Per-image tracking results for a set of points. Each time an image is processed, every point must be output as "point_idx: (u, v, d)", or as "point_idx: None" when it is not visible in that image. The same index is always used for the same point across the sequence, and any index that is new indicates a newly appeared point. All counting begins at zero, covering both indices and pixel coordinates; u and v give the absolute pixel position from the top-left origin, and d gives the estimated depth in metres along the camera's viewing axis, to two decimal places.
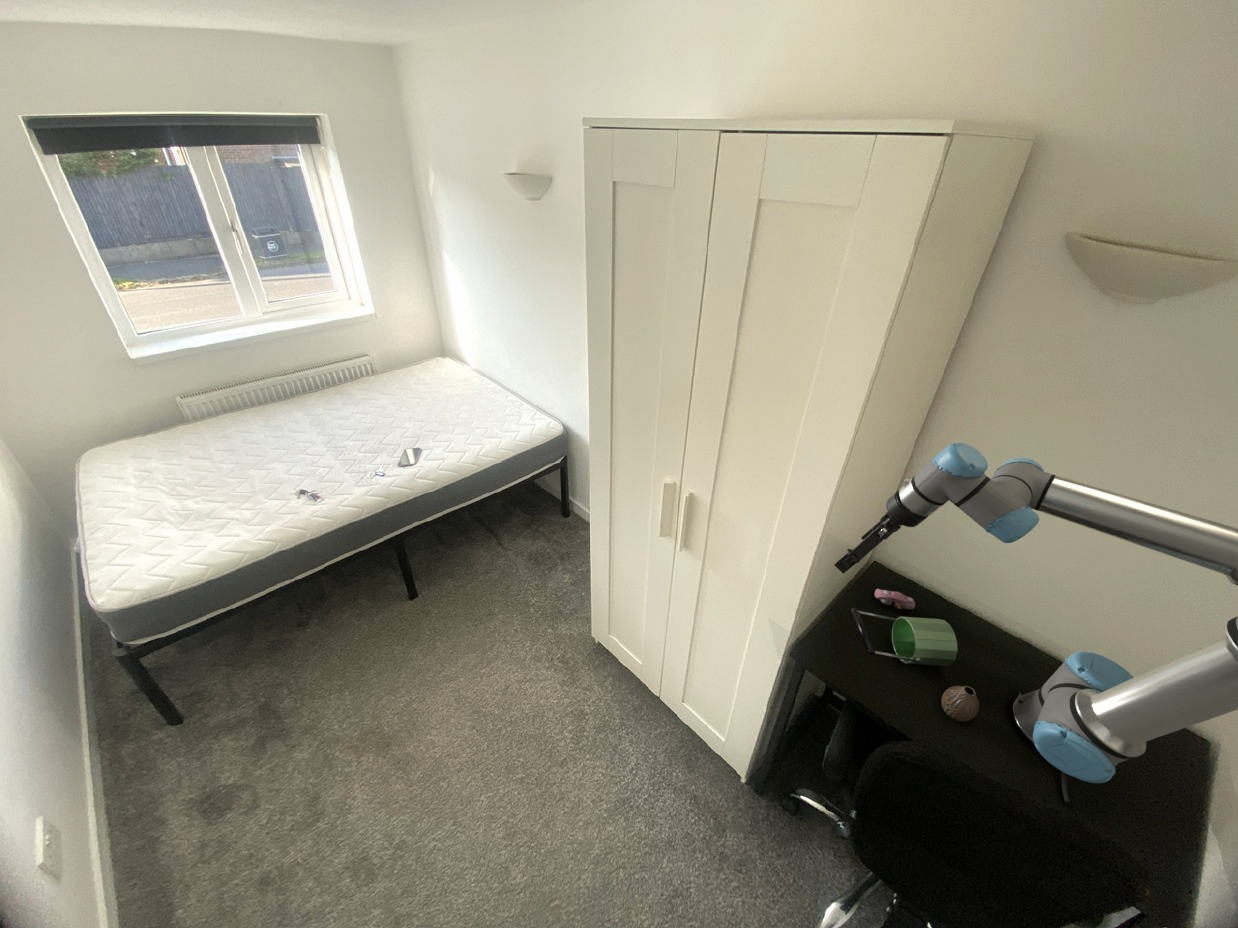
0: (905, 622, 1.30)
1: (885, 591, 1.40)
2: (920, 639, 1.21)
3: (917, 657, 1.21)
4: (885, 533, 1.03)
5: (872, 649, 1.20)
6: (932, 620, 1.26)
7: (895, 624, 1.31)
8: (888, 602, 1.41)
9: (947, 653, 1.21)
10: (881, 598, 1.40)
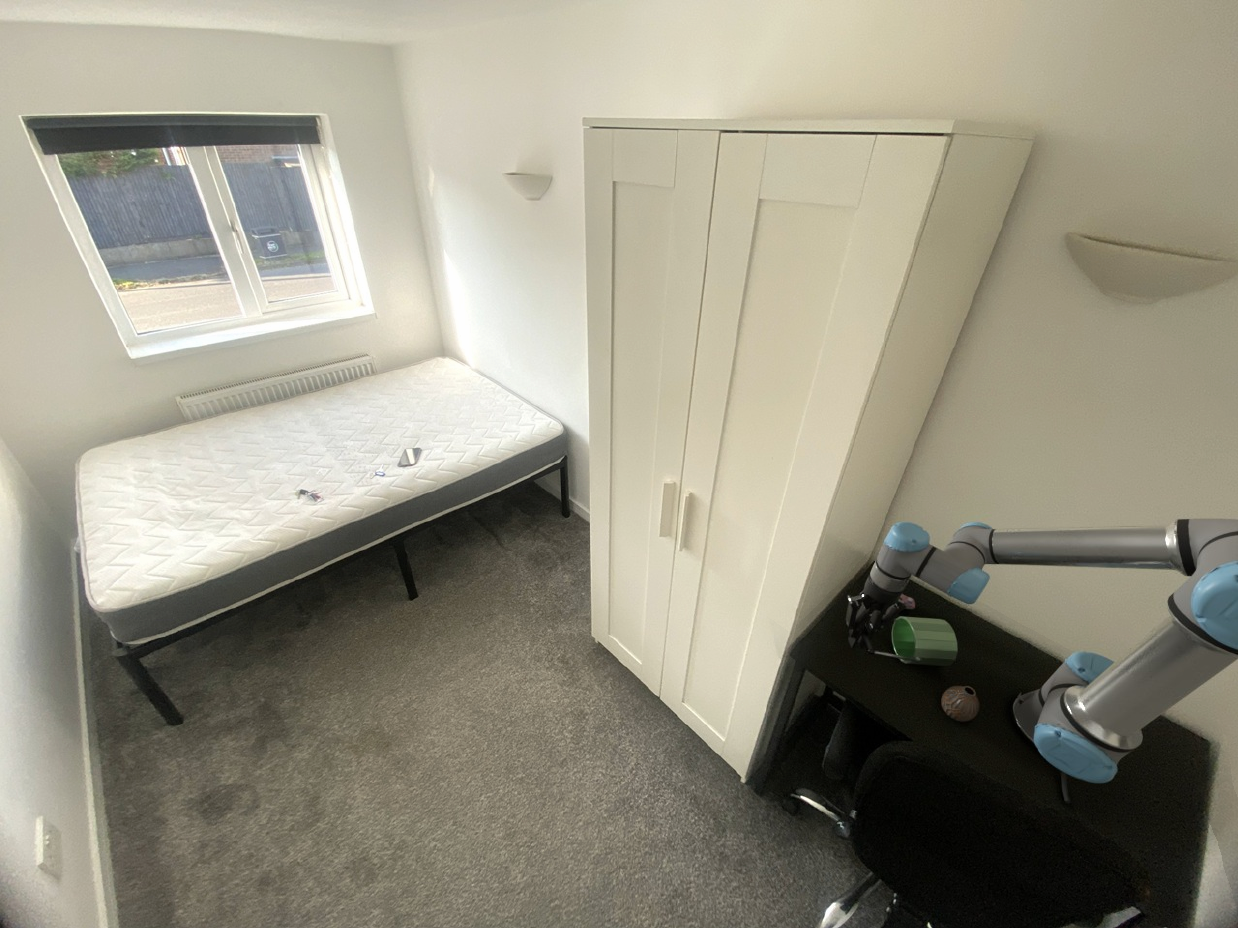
0: (905, 622, 1.30)
1: None
2: (920, 639, 1.21)
3: (917, 657, 1.21)
4: (849, 603, 1.19)
5: (872, 649, 1.20)
6: (932, 620, 1.26)
7: (895, 624, 1.31)
8: None
9: (947, 653, 1.21)
10: None
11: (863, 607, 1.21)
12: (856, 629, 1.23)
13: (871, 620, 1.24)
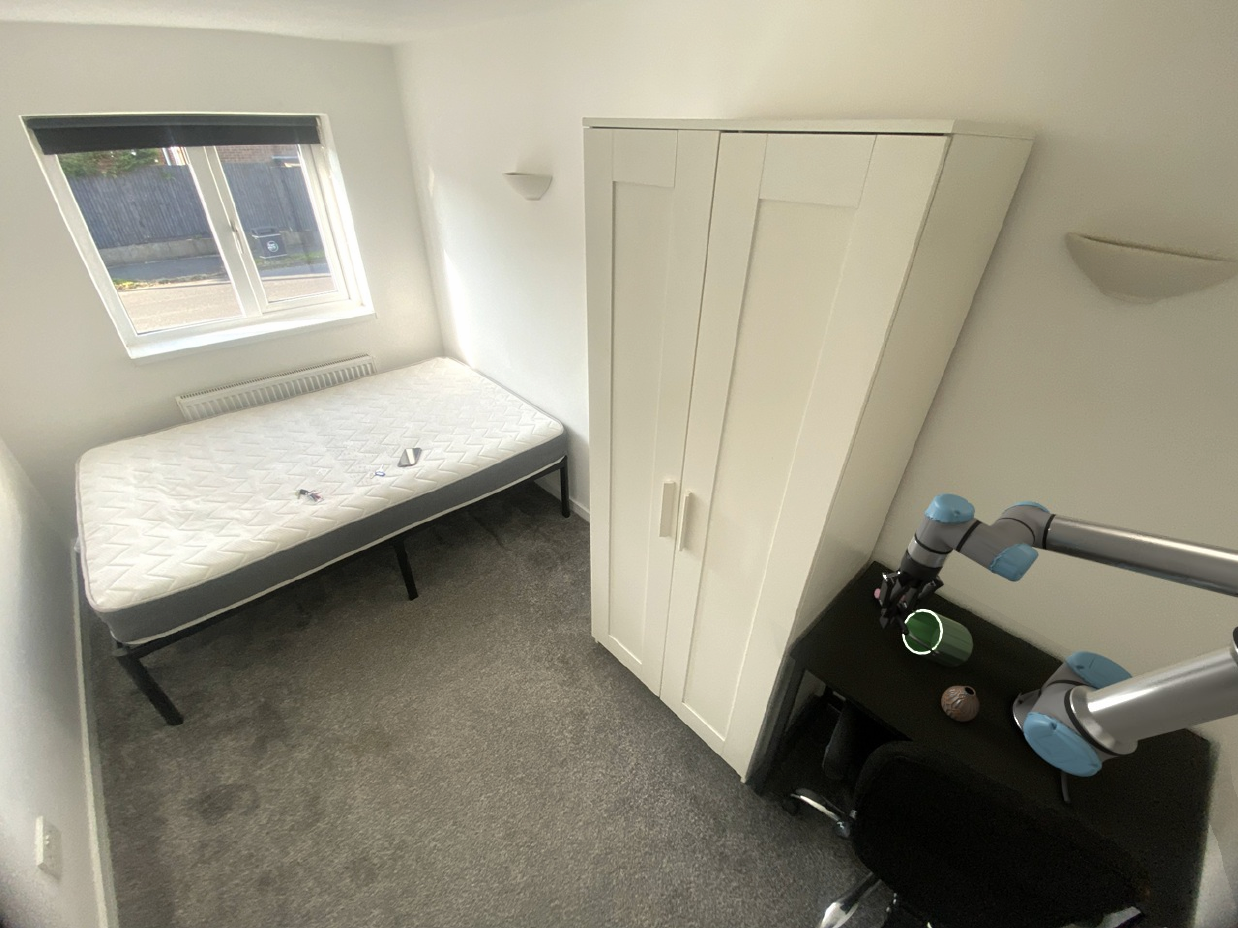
0: (921, 616, 1.29)
1: None
2: (945, 633, 1.19)
3: (937, 650, 1.19)
4: (885, 580, 1.14)
5: (908, 630, 1.15)
6: (951, 620, 1.25)
7: (912, 616, 1.29)
8: None
9: (962, 653, 1.21)
10: None
11: (898, 585, 1.16)
12: (890, 608, 1.18)
13: (905, 599, 1.19)
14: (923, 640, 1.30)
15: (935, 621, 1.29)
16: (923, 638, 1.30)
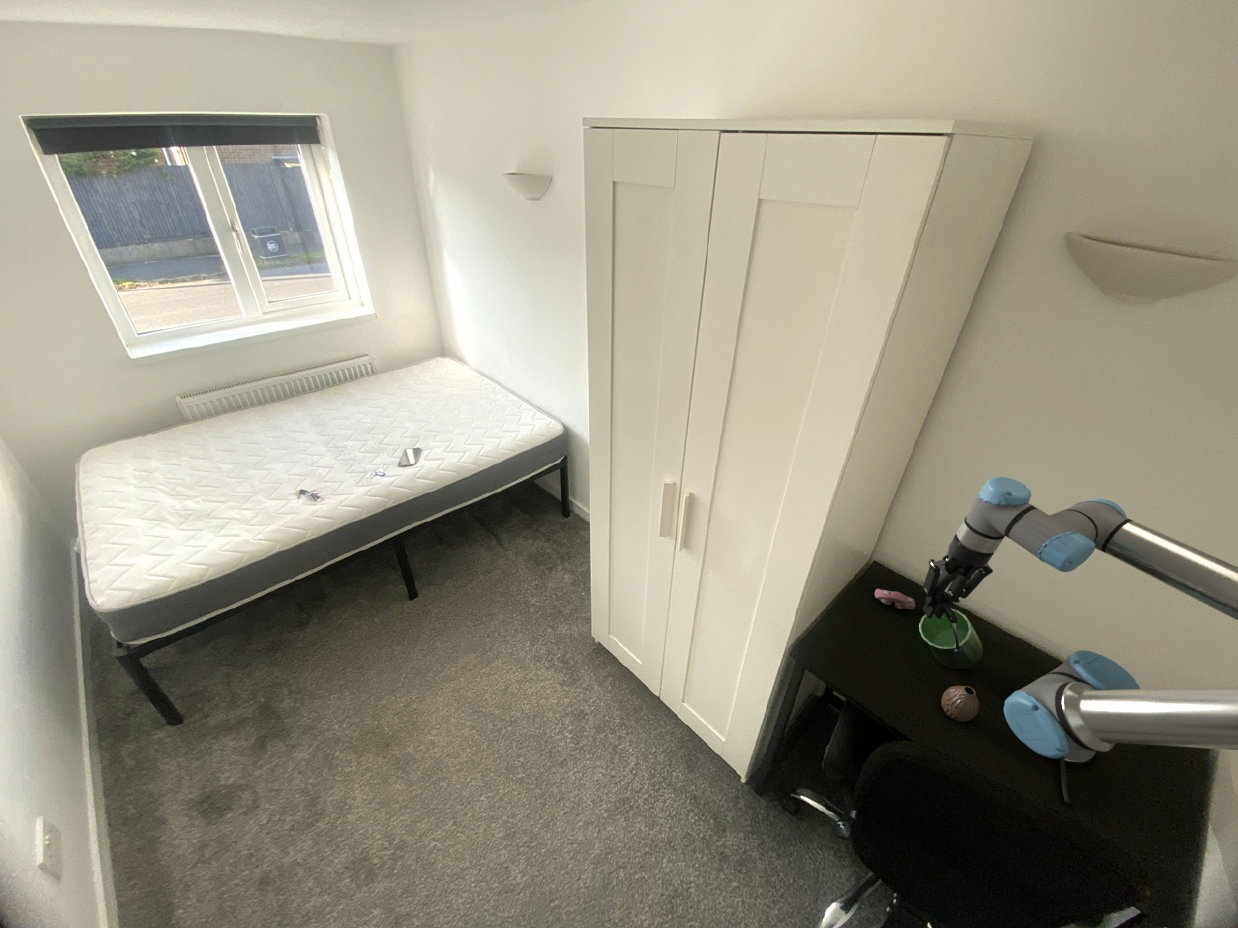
0: None
1: (885, 591, 1.40)
2: (972, 634, 1.19)
3: (960, 647, 1.18)
4: (932, 567, 1.11)
5: (956, 618, 1.12)
6: None
7: None
8: (888, 602, 1.41)
9: (974, 657, 1.21)
10: (881, 598, 1.40)
11: (945, 572, 1.13)
12: (935, 597, 1.15)
13: (951, 587, 1.16)
14: (930, 638, 1.30)
15: (947, 623, 1.30)
16: (930, 637, 1.30)
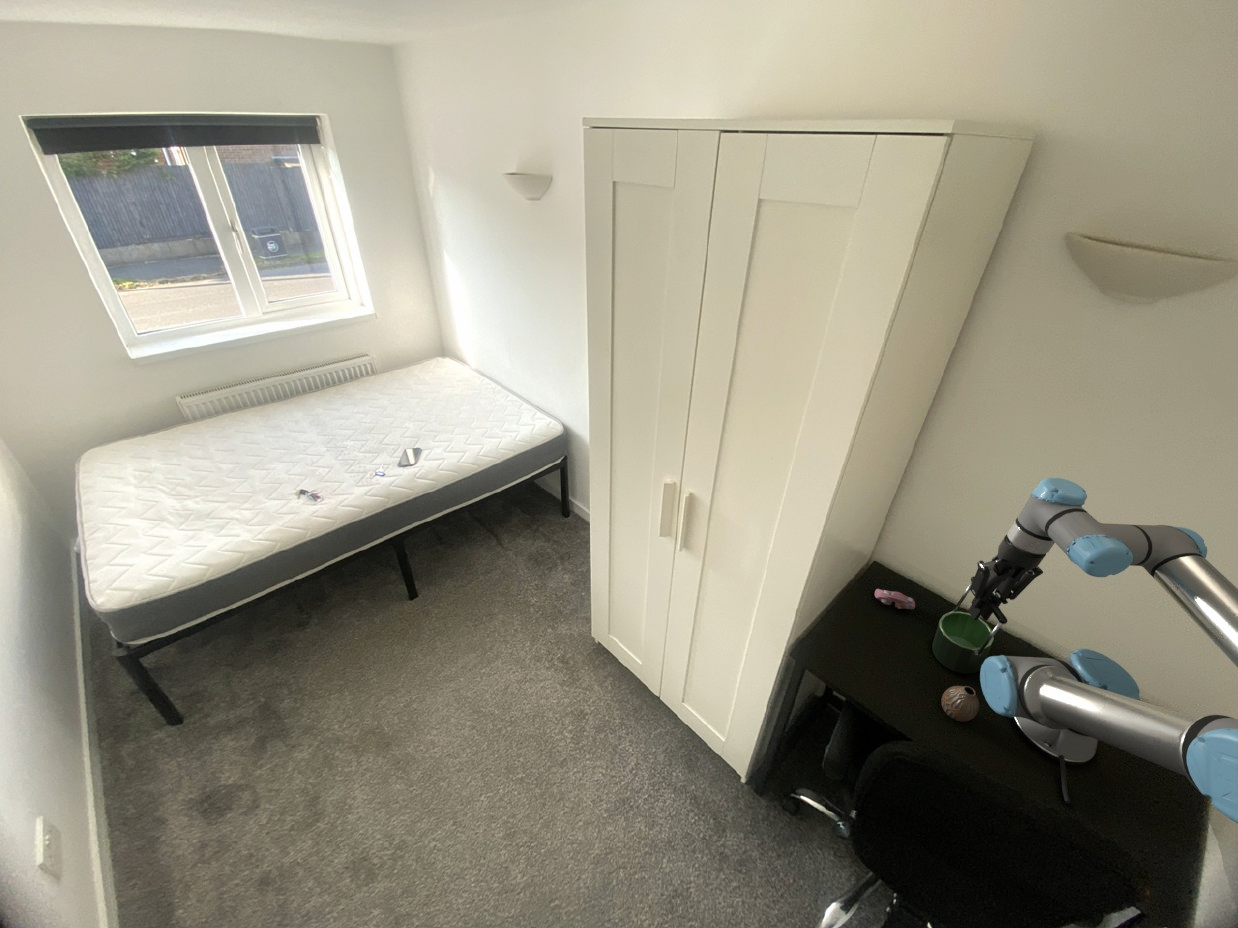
0: (955, 619, 1.28)
1: (885, 591, 1.40)
2: (992, 642, 1.21)
3: None
4: (981, 569, 1.10)
5: None
6: None
7: (953, 613, 1.27)
8: (888, 602, 1.41)
9: (980, 665, 1.23)
10: (881, 598, 1.40)
11: (993, 574, 1.12)
12: (983, 598, 1.15)
13: (999, 588, 1.15)
14: None
15: (954, 629, 1.31)
16: None
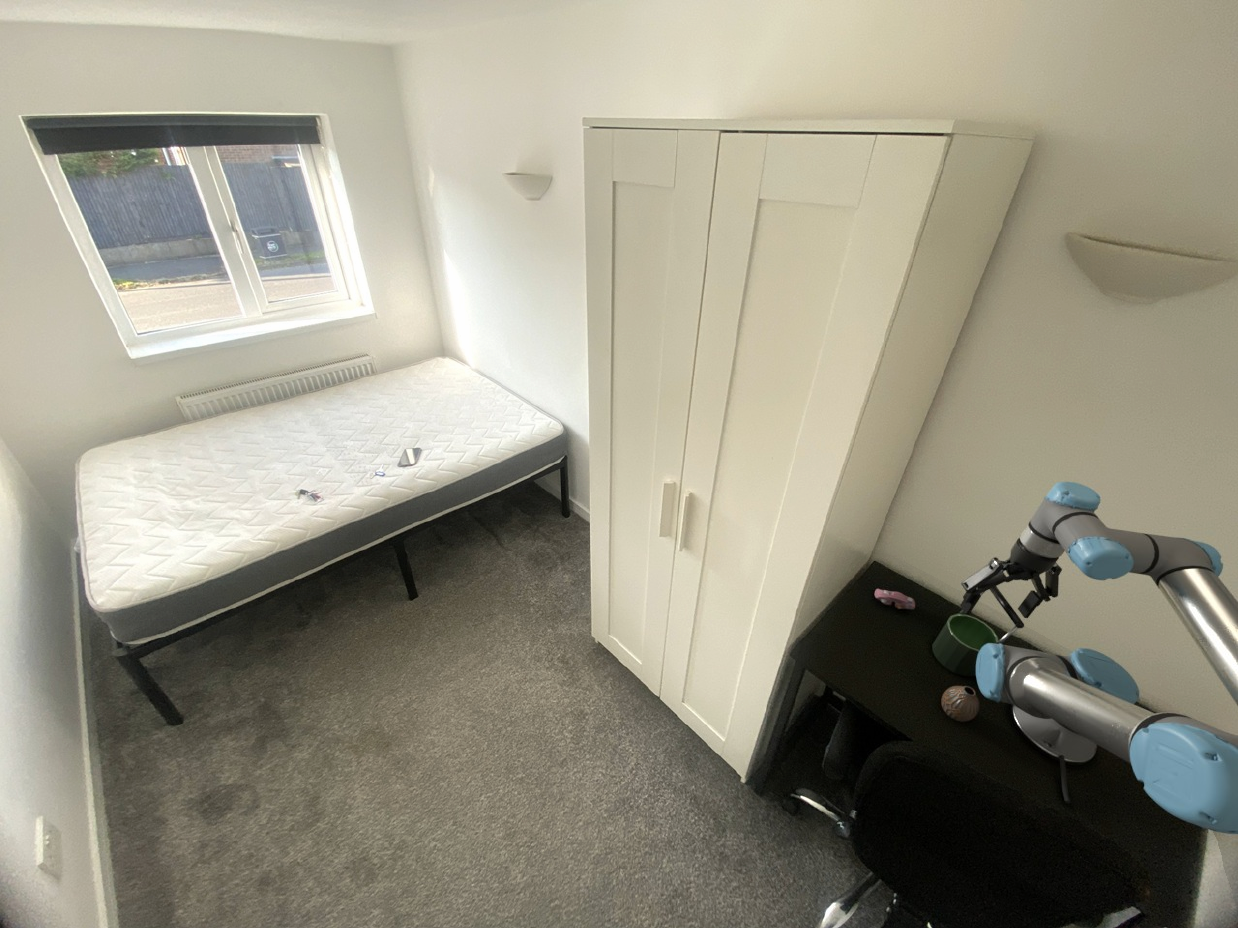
0: (960, 622, 1.29)
1: (885, 591, 1.40)
2: None
3: None
4: (996, 564, 1.10)
5: None
6: None
7: (959, 616, 1.28)
8: (888, 602, 1.41)
9: None
10: (881, 598, 1.40)
11: (999, 573, 1.12)
12: (975, 592, 1.14)
13: (1035, 588, 1.15)
14: None
15: (955, 632, 1.31)
16: None
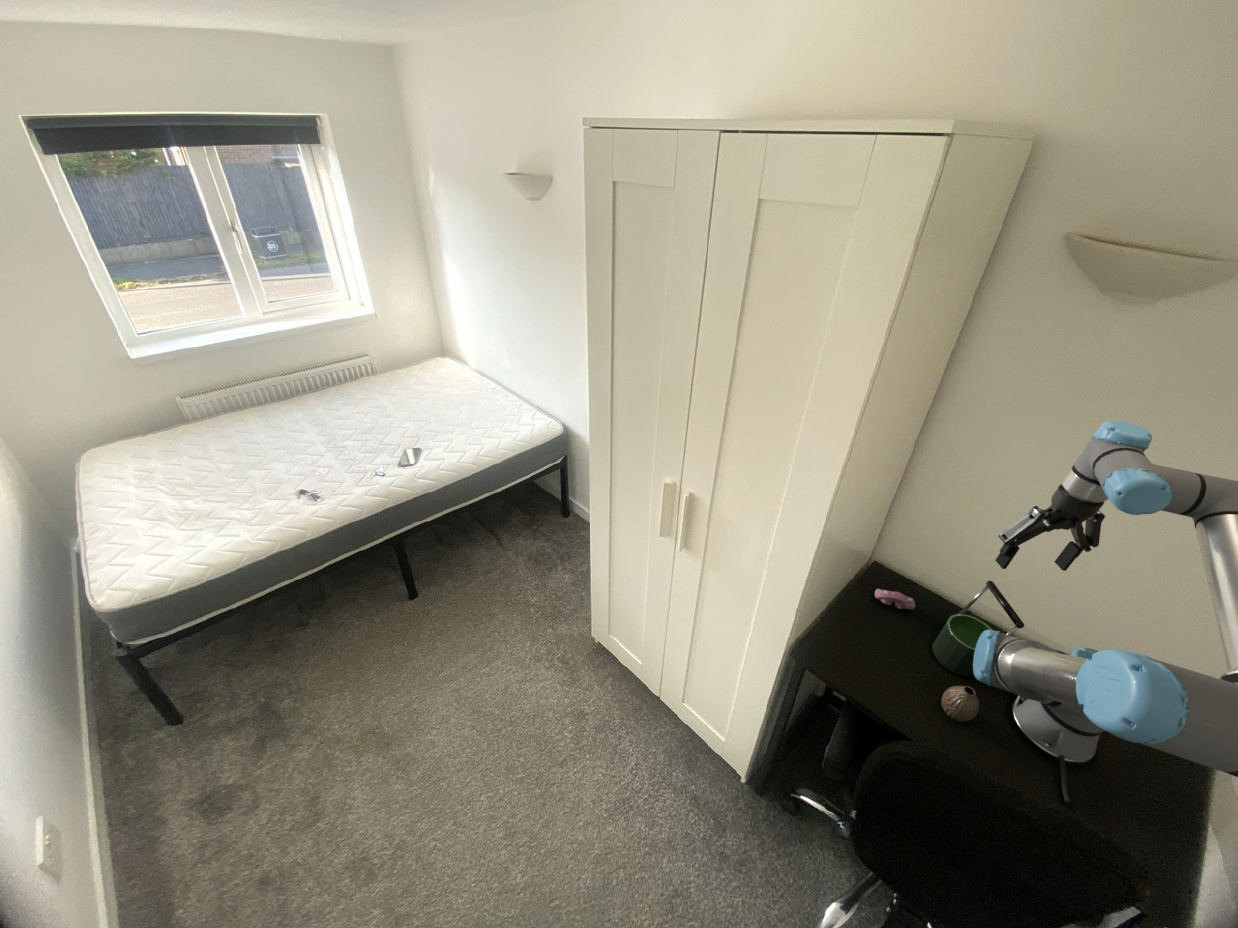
0: (960, 622, 1.29)
1: (885, 591, 1.40)
2: None
3: None
4: (1037, 513, 1.05)
5: None
6: None
7: (959, 616, 1.28)
8: (888, 602, 1.41)
9: None
10: (881, 598, 1.40)
11: (1039, 522, 1.07)
12: (1014, 544, 1.09)
13: (1075, 538, 1.10)
14: None
15: (955, 632, 1.31)
16: None
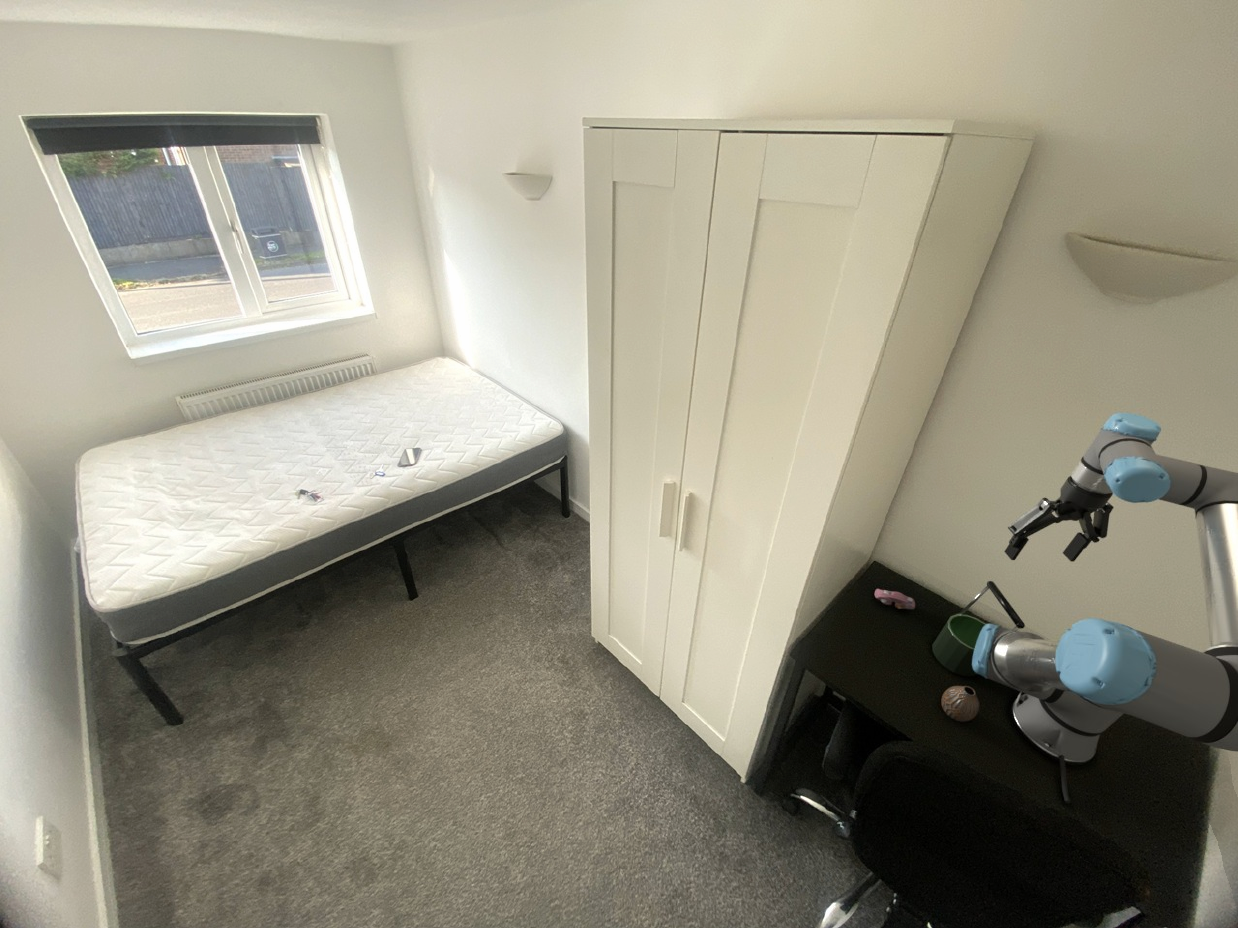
0: (960, 622, 1.29)
1: (885, 591, 1.40)
2: None
3: None
4: (1046, 504, 1.06)
5: None
6: None
7: (960, 616, 1.28)
8: (888, 602, 1.41)
9: None
10: (881, 598, 1.40)
11: (1048, 514, 1.09)
12: (1023, 535, 1.11)
13: (1083, 529, 1.12)
14: None
15: (955, 632, 1.31)
16: None
